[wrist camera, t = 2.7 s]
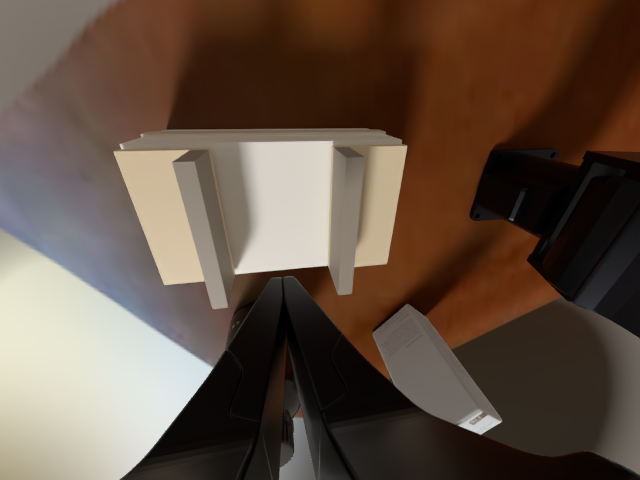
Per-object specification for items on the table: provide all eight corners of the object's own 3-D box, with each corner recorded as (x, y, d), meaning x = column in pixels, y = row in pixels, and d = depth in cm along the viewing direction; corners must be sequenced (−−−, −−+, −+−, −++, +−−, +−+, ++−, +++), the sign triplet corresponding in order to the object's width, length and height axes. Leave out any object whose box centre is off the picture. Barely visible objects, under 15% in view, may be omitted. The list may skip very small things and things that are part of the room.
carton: (367, 126, 19) (404, 137, 14) (357, 223, 23) (383, 261, 18) (164, 127, 17) (116, 141, 11) (193, 234, 21) (168, 281, 15)
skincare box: (391, 343, 33) (447, 458, 22) (369, 331, 31) (419, 451, 20) (427, 314, 31) (507, 423, 21) (406, 299, 29) (482, 412, 19)
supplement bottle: (308, 314, 27) (330, 444, 17) (270, 350, 29) (270, 487, 19) (255, 287, 24) (243, 425, 14) (216, 329, 26) (182, 478, 16)
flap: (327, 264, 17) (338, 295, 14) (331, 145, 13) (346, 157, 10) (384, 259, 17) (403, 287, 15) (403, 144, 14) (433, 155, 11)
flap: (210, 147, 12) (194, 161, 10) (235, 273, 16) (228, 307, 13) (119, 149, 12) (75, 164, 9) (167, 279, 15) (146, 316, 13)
